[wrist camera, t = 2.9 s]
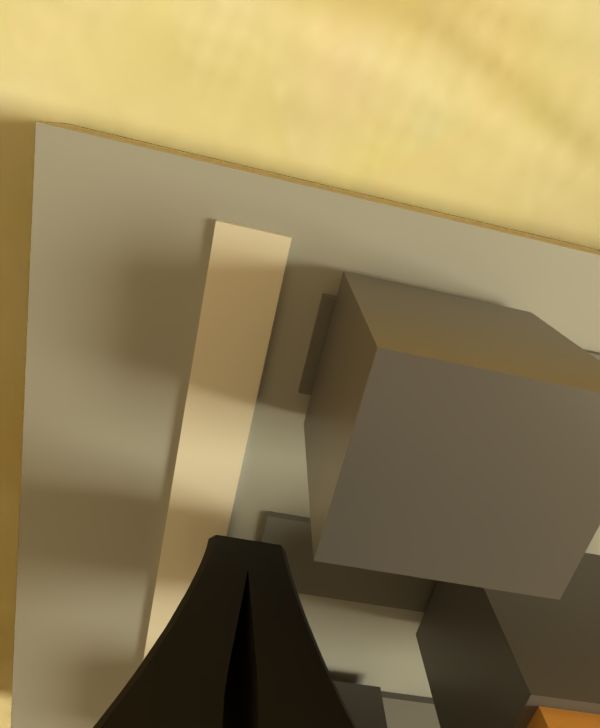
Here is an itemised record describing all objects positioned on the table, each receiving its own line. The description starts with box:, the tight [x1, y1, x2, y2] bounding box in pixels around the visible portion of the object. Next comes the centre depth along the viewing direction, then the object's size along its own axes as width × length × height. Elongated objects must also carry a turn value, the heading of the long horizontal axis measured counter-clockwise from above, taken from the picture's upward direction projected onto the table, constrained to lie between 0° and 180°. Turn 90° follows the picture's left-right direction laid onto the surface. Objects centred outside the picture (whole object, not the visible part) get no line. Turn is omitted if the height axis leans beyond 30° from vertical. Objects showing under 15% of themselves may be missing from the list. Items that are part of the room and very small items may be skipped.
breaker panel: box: [11, 122, 600, 728], centre depth 12 cm, size 14×20×1 cm
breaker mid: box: [416, 553, 600, 728], centre depth 10 cm, size 3×3×4 cm
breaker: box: [304, 271, 600, 600], centre depth 8 cm, size 3×3×3 cm
